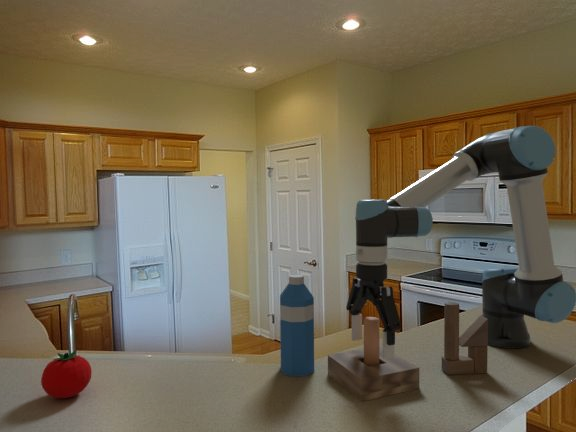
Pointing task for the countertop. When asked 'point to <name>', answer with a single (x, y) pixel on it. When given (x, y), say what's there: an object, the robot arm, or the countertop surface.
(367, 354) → the pin
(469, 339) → the wooden block structure
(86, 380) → the tomato
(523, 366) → the countertop surface
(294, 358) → the water bottle
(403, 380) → the socket block
